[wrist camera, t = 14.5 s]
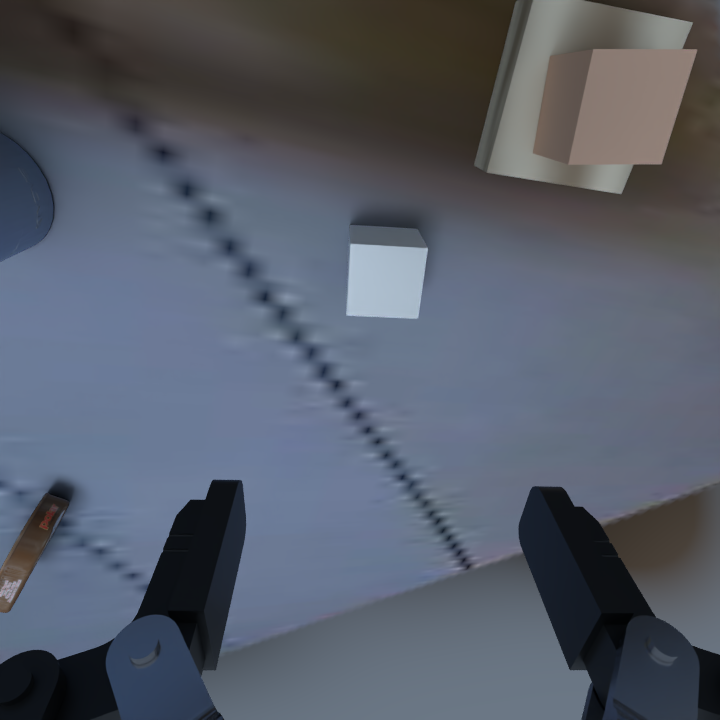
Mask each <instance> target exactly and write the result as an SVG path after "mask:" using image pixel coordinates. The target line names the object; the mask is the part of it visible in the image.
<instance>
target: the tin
mask: <svg viewBox="0 0 720 720" xmlns="http://www.w3.org/2000/svg"><path fill="white" fill-rule="evenodd" d="M68 505H69V501H67V500H65V499H62V498H59V497H56V496H53V495H50V494H49V493H46V494H45V495H44V497H43V498H42V500H41V501H40V502H39V504H38V506H37V507H36V509H35V510H34V512H33V513H32V515H31V517H30V518H29V520H28V522H27V523H26V525H25V526H24V528H23V530H22V531H21V533H20V535H19V536H18V538H17V540H16V542H15V543H14V545H13V547H12V549H11V551H10V552H9V554H8V556H7V558H6V560H5V561H4V563H3V565H2V567H1V569H0V612H3V613H7V612H9V611H10V610H11V608H12V607H13V605H14V603H15V601H16V600H17V598H18V596H19V594H20V593H21V591H22V589H23V587H24V585H25V583H26V582H27V580H28V578H29V576H30V574H31V572H32V571H33V569H34V567H35V565H36V564H37V562H38V560H39V558H40V556H41V555H42V553H43V551H44V549H45V547H46V546H47V544H48V542H49V540H50V539H51V537H52V535H53V534H54V532H55V530H56V528H57V526H58V525H59V523H60V521H61V519H62V517H63V515H64V513H65V511H66V509H67V507H68Z"/></svg>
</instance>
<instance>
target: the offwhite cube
mask: <svg viewBox="0 0 720 720" xmlns="http://www.w3.org/2000/svg"><path fill="white" fill-rule="evenodd" d="M427 252H428V247H427V245H426V244H425V242H424V240H423V238H422V236H421V234H420V233H419V231H418V229H414V228H397V227H380V226H363V225H350V227H349V246H348V265H347V284H346V315H348V316H369V317H391V318H412V319H418V315H419V308H420V301H421V294H422V287H423V280H424V273H425V266H426V259H427Z"/></svg>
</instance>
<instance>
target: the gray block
mask: <svg viewBox="0 0 720 720" xmlns="http://www.w3.org/2000/svg"><path fill="white" fill-rule="evenodd" d="M692 24H693V23H692V22H688V21H683V20H678V19H673V18H668V17H663V16H658V15H653V14H648V13H643V12H638V11H633V10H629V9H624V8H619V7H614V6H609V5H604V4H599V3H594V2H589V1H584V0H517V1H516V3H515V6H514V10H513V14H512V18H511V22H510V26H509V30H508V34H507V38H506V42H505V46H504V50H503V54H502V58H501V61H500V65H499V69H498V73H497V77H496V81H495V85H494V89H493V93H492V97H491V101H490V105H489V109H488V113H487V116H486V120H485V124H484V128H483V132H482V136H481V140H480V144H479V148H478V152H477V156H476V160H475V164H474V166H476V167H478V168H479V169H481V170H483V171H485V172H487V173H493V174H499V175H505V176H511V177H518V178H524V179H530V180H536V181H543V182H549V183H555V184H561V185H568V186H574V187H580V188H586V189H593V190H599V191H605V192H611V193H618V194H621V193H622V191H623V189H624V186H625V184H626V181H627V179H628V177H629V174H630V172H631V170H632V167H633V165H634V164H609V165H567V164H564V163H561V162H558V161H555V160H552V159H549V158H546V157H543V156H540V155H536V154H533V150H534V144H535V139H536V133H537V127H538V122H539V116H540V110H541V105H542V99H543V94H544V88H545V82H546V77H547V71H548V66H549V60H550V56H553V55H560V54H566V53H572V52H578V51H584V50H591V49H682V48H683V45H684V43H685V41H686V38H687V36H688V33H689V31H690V29H691V26H692Z"/></svg>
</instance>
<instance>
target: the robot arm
mask: <svg viewBox="0 0 720 720" xmlns="http://www.w3.org/2000/svg"><path fill="white" fill-rule="evenodd" d="M52 220H53V201H52V195H51V192H50V189H49V187H48V184H47V181H46V179H45V177H44V176H43V174H42V172H41V171H40V169H39V167H38V166H37V165H36V163H35V162H34V161H33V160H32V158H31V157H30V156H29V155H28V154H27V153H26V152H25V151H24V150H23V149H22V148H21V147H20V146H19V145H17V144H16V143H15V142H14V141H12V140H11V139H9V138H8V137H6V136H5V135H3V134H2V133H0V262H1V261H3V260H5V259H7V258H9V257H11V256H13V255H15V254H18V253H20V252H22V251H24V250H26V249H28V248H30V247H32V246H34V245H36V244H37V243H38V242H39V241H41V240H42V239H43V238H44V237H45V235H46V234H47V232H48V231H49V229H50V226H51V223H52ZM245 532H246V513H245V503H244V493H243V484H242V481H241V480H213V481H212V482H211V485H210V487H209V490H208V493H207V496H206V499H205V500H190V501H189V502H188V503H187V504H186V505H185V507H184V508H183V509H182V510H181V511H180V512H179V513H178V514H177V515H176V518H175V520H174V523H173V525H172V528H171V530H170V533H169V537H168V538H167V541H166V543H165V546H164V548H163V553H161V556H160V558H159V561H158V563H157V566H156V568H155V571H154V573H153V576H152V578H151V581H150V583H149V586H148V589H147V591H146V594H145V596H144V599H143V601H142V604H141V606H140V609H139V611H138V613H137V615H136V616H135V618H134V620H133V621H132V622H131V623H130V624H129V625H127V626H126V627H125V628H124V629H122V631H121V632H120V633H119V634H118V635H117V636H116V637H115V638H114V639H113V640H111V641H109V642H108V643H106V644H104V645H102V646H99V647H96V648H94V649H91V650H87V651H84V652H81V653H78V654H75V655H72V656H69V657H66V658H63V659H59V660H57V659H56V658H55V656H53V655H52V654H51V653H49V652H47V651H43V650H31V651H26V652H23V653H20V654H18V655H15V656H13V657H11V658H10V659H8V660H6V661H5V662H3V663H2V664H0V720H224V719H223V717H222V715H221V714H220V713H218V712H217V710H216V708H215V706H214V704H213V702H212V700H211V698H210V696H209V693H208V691H207V689H206V687H205V685H204V682H203V680H202V678H201V675H202V671H203V670H216V667H217V662H218V658H219V653H220V649H221V644H222V640H223V635H224V631H225V626H226V622H227V617H228V613H229V608H230V604H231V599H232V595H233V590H234V585H235V581H236V576H237V572H238V567H239V563H240V558H241V554H242V549H243V545H244V540H245ZM519 540H520V544H521V547H522V550H523V552H524V555H525V557H526V560H527V562H528V565H529V568H530V570H531V573H532V575H533V578H534V580H535V583H536V585H537V588H538V590H539V593H540V595H541V598H542V601H543V603H544V606H545V608H546V611H547V613H548V616H549V618H550V621H551V623H552V626H553V629H554V631H555V634H556V636H557V639H558V641H559V644H560V646H561V649H562V651H563V654H564V656H565V659H566V661H567V664H568V667H569V669H570V670H587V671H588V674H589V676H590V678H591V681H592V683H591V684H590V686H589V689H588V693H587V697H586V702H585V706H584V711H583V714H582V718H581V720H720V655H719V654H715V653H712V652H709V651H706V650H703V649H700V648H697V647H695V646H692V645H691V644H690V642H689V641H688V640H687V639H686V638H685V636H684V635H683V634H682V633H680V632H679V631H678V630H677V629H676V628H674V627H673V626H672V625H670V624H669V623H667V622H665V621H663V620H661V619H659V618H656V616H655V615H654V614H653V612H652V610H651V609H650V607H649V605H648V604H647V602H646V600H645V599H644V597H643V595H642V594H641V592H640V590H639V589H638V587H637V585H636V584H635V582H634V580H633V579H632V577H631V575H630V574H629V572H628V570H627V569H626V567H625V565H624V564H623V562H622V560H621V558H618V554H617V552H616V550H615V549H614V547H613V545H612V544H611V543H609V538H608V537H607V535H606V533H605V532H604V530H603V528H602V527H601V525H600V523H599V522H598V521H597V520H596V519H595V518H594V517H593V516H592V515H591V514H590V513H588V512H587V511H586V510H585V509H584V508H583V507H574V505H573V503H572V501H571V500H570V498H569V496H568V494H567V492H566V491H565V490H564V489H563V488H562V487H539V486H534V487H532V489H531V490H530V493H529V496H528V499H527V502H526V505H525V508H524V511H523V514H522V516H521V519H520V522H519Z"/></svg>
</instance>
